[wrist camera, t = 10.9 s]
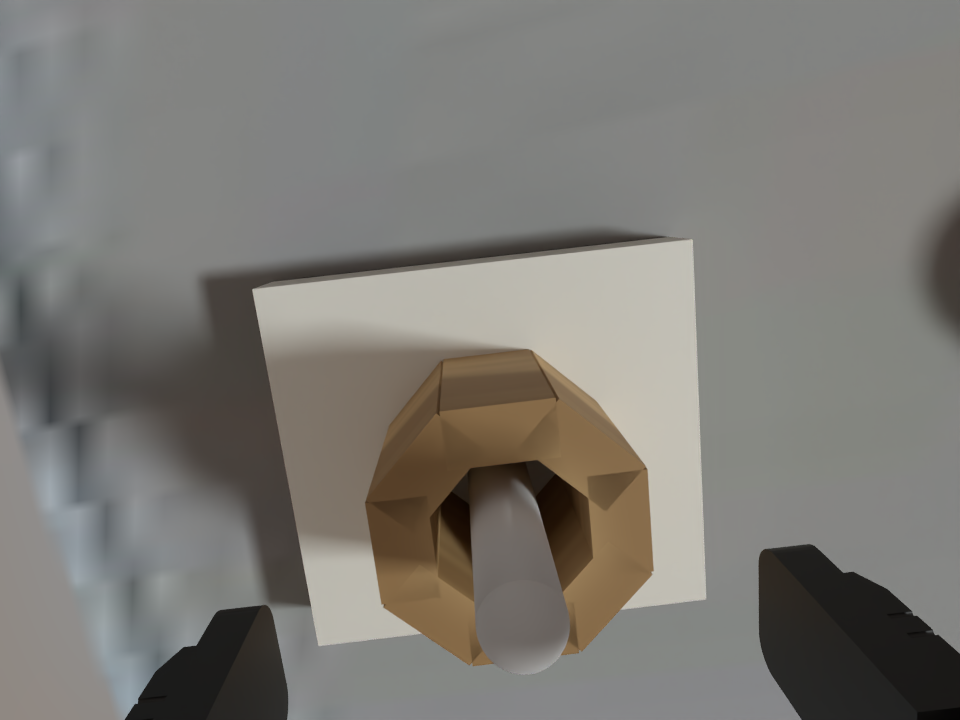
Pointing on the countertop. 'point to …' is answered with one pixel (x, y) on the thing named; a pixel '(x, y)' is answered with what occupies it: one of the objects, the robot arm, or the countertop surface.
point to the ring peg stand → (498, 488)
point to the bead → (562, 502)
